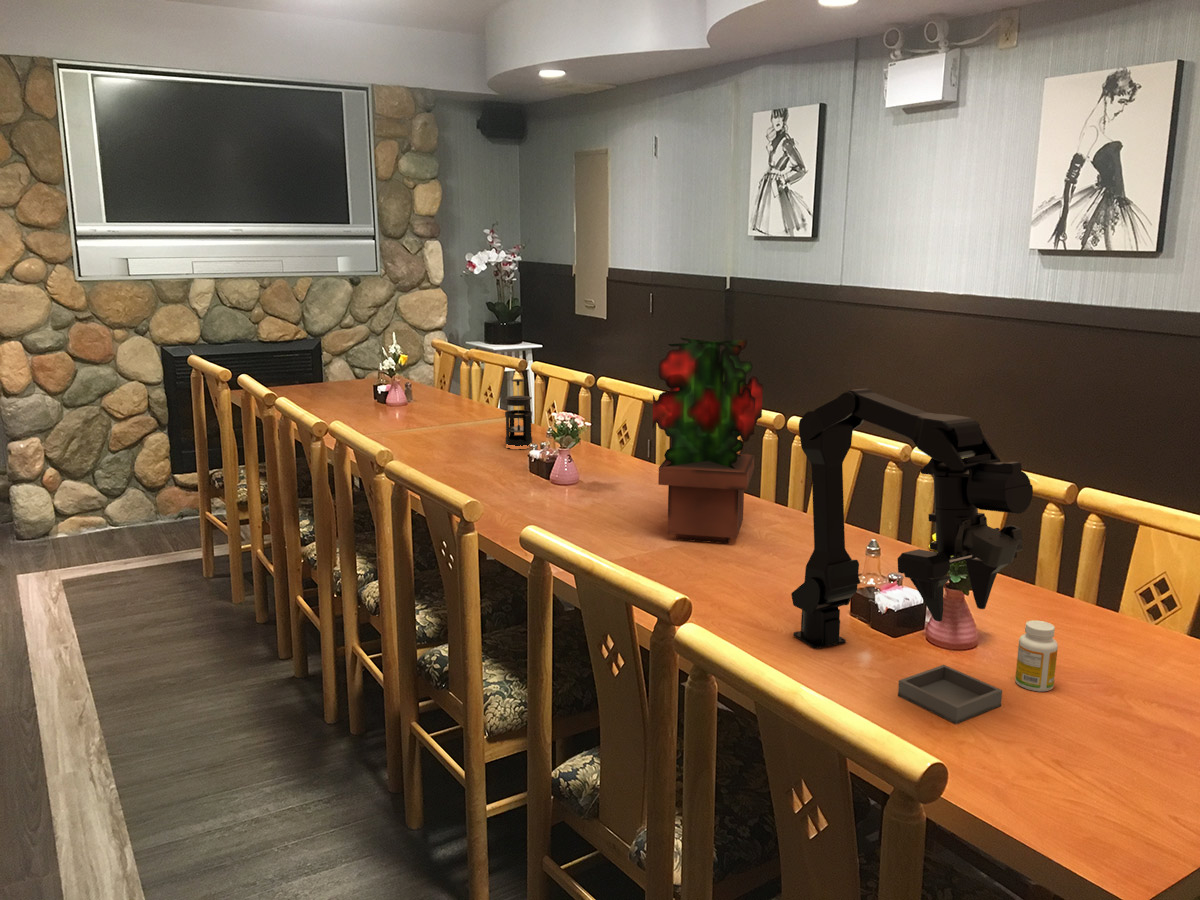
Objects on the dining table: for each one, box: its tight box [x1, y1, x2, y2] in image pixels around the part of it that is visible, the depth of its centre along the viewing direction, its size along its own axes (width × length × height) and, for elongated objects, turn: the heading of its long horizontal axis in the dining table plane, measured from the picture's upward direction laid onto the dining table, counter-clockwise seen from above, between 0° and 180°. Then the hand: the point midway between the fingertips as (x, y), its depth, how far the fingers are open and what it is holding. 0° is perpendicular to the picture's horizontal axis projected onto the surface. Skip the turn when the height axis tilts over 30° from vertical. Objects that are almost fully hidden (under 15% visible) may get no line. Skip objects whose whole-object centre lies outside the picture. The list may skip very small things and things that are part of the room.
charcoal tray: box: [897, 664, 1003, 725], centre depth 139 cm, size 10×10×2 cm
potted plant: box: [652, 337, 764, 544], centre depth 216 cm, size 22×22×45 cm
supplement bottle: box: [1014, 619, 1059, 693], centre depth 143 cm, size 5×5×10 cm
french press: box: [504, 378, 533, 446], centre depth 314 cm, size 12×9×23 cm
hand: (960, 614), depth 134 cm, fingers open, 9 cm apart
